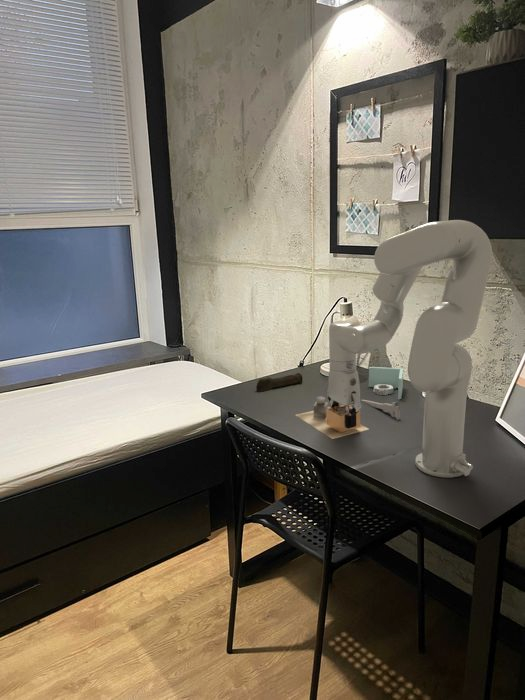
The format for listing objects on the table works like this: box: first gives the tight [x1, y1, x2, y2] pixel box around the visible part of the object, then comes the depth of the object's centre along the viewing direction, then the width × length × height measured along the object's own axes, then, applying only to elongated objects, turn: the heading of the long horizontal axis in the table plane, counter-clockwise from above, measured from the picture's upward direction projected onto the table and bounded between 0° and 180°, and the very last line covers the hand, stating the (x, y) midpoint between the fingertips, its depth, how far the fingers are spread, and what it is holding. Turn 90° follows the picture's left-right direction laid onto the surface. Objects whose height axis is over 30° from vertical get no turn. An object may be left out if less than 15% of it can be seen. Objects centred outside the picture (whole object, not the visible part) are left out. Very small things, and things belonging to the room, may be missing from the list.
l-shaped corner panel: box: [368, 366, 404, 400], centre depth 182 cm, size 12×12×8 cm
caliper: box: [360, 399, 401, 420], centre depth 165 cm, size 20×1×6 cm, turn 25°
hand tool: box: [255, 372, 303, 392], centre depth 193 cm, size 19×4×5 cm, turn 116°
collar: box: [326, 404, 361, 432], centre depth 150 cm, size 7×7×5 cm
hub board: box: [295, 396, 370, 440], centre depth 156 cm, size 21×13×7 cm, turn 27°
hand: (343, 422), depth 151 cm, fingers closed on collar, 7 cm apart
